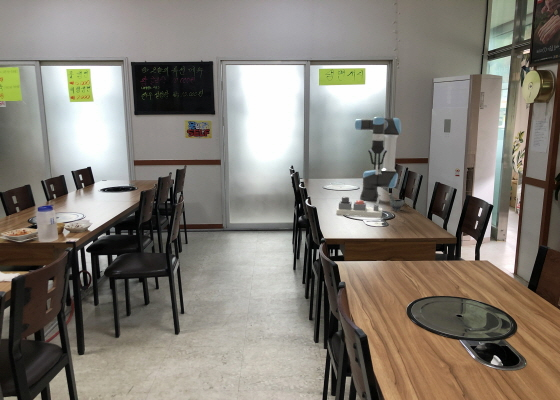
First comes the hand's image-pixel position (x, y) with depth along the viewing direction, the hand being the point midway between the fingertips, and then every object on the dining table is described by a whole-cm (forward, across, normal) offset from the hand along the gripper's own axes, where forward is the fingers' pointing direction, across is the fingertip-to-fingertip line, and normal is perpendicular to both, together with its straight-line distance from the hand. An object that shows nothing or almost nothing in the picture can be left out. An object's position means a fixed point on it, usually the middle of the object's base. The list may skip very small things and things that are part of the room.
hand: (376, 174), depth 314 cm
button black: (+21, -20, -10) cm, 30 cm away
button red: (+23, -10, -10) cm, 27 cm away
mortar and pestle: (+27, +14, +9) cm, 32 cm away
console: (+26, -10, -10) cm, 30 cm away
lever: (+22, +1, -10) cm, 24 cm away
